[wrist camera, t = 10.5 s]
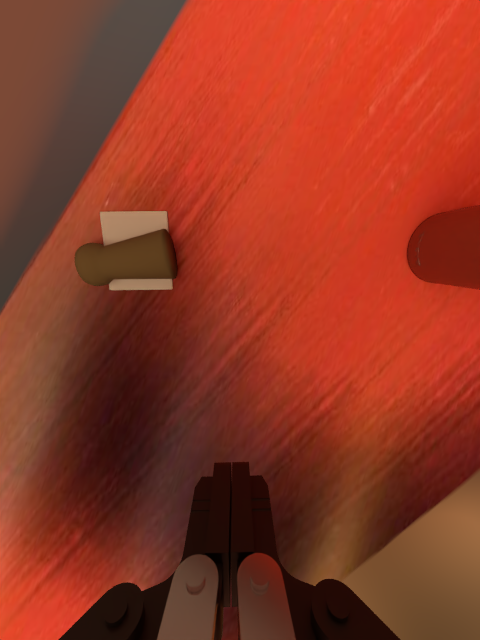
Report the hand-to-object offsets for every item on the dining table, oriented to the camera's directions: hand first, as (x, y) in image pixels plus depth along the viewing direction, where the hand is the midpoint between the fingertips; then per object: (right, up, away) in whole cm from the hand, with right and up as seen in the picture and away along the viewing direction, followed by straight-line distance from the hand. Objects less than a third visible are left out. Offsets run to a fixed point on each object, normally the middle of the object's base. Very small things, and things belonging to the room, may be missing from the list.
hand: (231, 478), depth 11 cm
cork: (-8, +15, +21) cm, 27 cm away
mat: (-13, +16, +24) cm, 31 cm away
